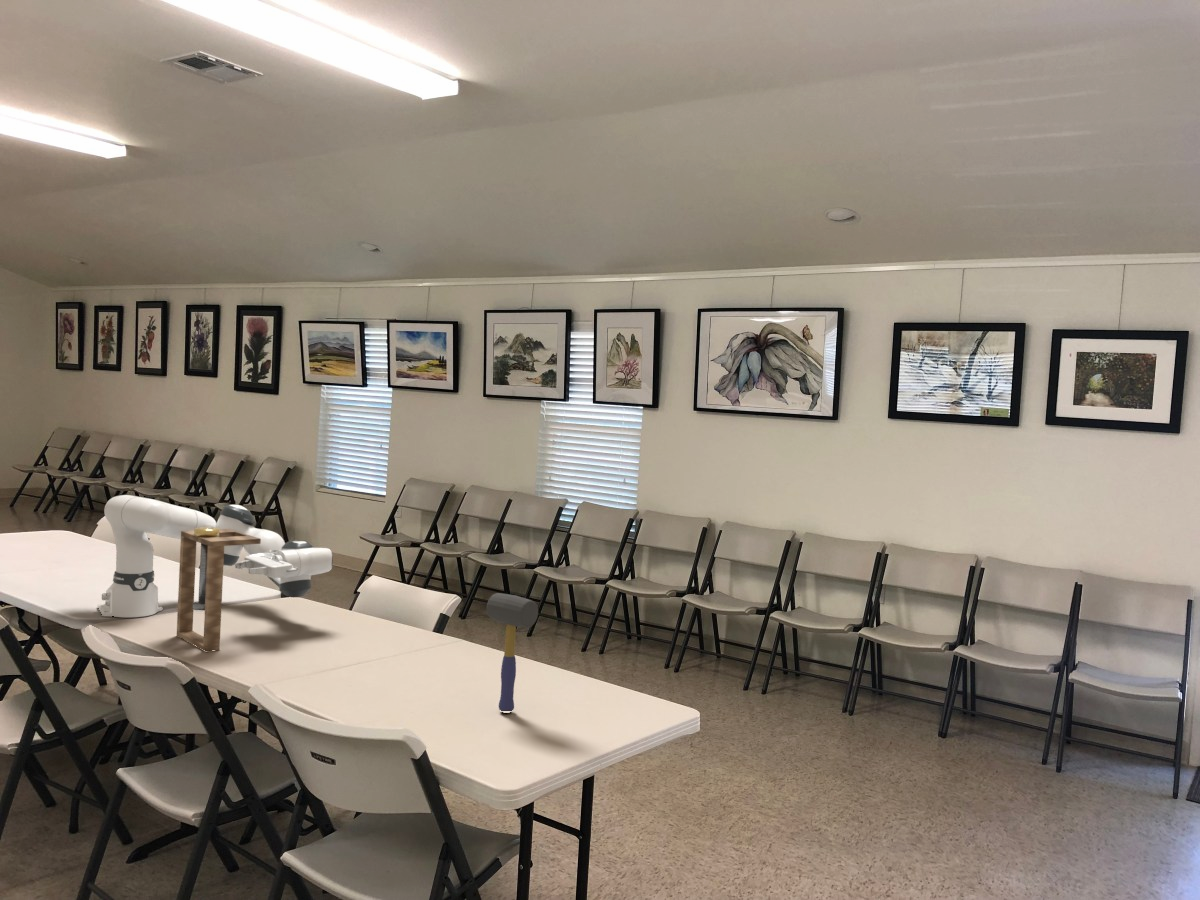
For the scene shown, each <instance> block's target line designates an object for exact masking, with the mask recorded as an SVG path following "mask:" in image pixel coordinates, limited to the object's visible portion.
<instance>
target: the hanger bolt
mask: <svg viewBox="0 0 1200 900" xmlns="http://www.w3.org/2000/svg"><path fill="white" fill-rule="evenodd" d="M219 532H220V529H219V528H212V527H200V528H195V529H194V536H196V537H218V536H219ZM207 552H208V546H207V545H205V544H202V543H200V559H199V580H198V581H199V582H198V584H199V585H198V601H197V600H196V601H194V603H193V610H195V611H205V597H206V574H207Z"/></svg>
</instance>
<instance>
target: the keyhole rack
mask: <svg viewBox="0 0 1200 900" xmlns="http://www.w3.org/2000/svg"><path fill="white" fill-rule="evenodd" d="M197 543H199V544H201V543H202V544H205V545H207V546H208V552H207V574H206V597H205V610H204V620H203V623H204V625H203V635H201V634H199V633H198V632H196V631H194V630H193V628H194V627H193V626H194V609H193V603H194V602H195V582H196V562H197V560H196V558H197ZM260 543H261V539H260V538H257V537H254V536H250V535H247V534H244V533H241V532H238V531H235V530H232V529H220V532H219V536H218V537H196V536H194V530H192V531H181V540H180V546H179V547H180V549H179V570H178V571H179V573H178V592H177V593H178V594H177V615H176V616H177V617H176V618H177V619H176V637H178V636H179V637H181V638H183V639H184V640H183V639H182V640H183V641H185V640H186V641H185V642H187V641H188V642H190V643H192V644H194V645H196V646H197V647H199V648H201V649H203V650H205V651H212V650H219V651H221V650H220V648H221V647H220V646H221V625H222V605H223V604H222V602H223V600H222V599H223V585H224V584H223V581H224V566H223V563H224V546H231V545H248V544H260ZM179 637H178V638H179ZM181 638H180V639H181ZM188 642H187V643H188ZM190 643H189V644H190ZM192 644H191V645H192ZM194 645H193V646H194ZM197 647H196V648H197ZM199 648H198V649H199ZM201 649H200V650H201ZM203 650H202V651H203ZM212 652H213V651H212Z"/></svg>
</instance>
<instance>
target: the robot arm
mask: <svg viewBox="0 0 1200 900" xmlns="http://www.w3.org/2000/svg"><path fill="white" fill-rule="evenodd" d="M103 509H104V510H103V511H104V513H103V514H104V516H105V519H106V520H107V521H108V523H109V525H110V527H111V529H112V530H111V531H112V534H113V539H114V542H115V549H116V551H115V552H116V554H115V556H116V558H115V559H116V560H115V571H114V574H113V578H112V584H111V585H110V586H109V587H108V588H107V589H106V591H105V593H102V594H101V601H105V602H103V603H98V604H97V607H98V608H99V609H98V608H97V609H98V611H99V610H100V611H99V613H100V612H101V613H100V615H101V614H102V615H101V617H112V616H114V617H116V618H142V617H148V616H152V615H155V614H156V613H158V612H161V611H163V607H162V606H159V588H158V586H157V585H156V584H154V581H155V571H154V551H155V549H154V545H153V544H152V543H151V542H150V540H149V537H148V534H152V535H157V536H161V537H167V538H170V539H176V540H180V541H181V531H192V530H194V529H195V528H200V527H212V528H219V529H232V530H235V531H238V532H241V533H244V534H247V535H250V536H254V537H257V538H260V539H261V543H260V544H248V545H231V546H224V563H223V567H232V566H234V568H235V569H238V570H240V569H241V570H242V569H248V574H250V575H251V576H252V575H263V576H265V577H267V578H268V579H269V580H270V581H271V582H272V583H273V584H275V585H276V586H277V587H278V588H279V589H278V590H279V591H280V592H281V593H282V594H283V595H284V596H286V597H287V598H289V597H290V598H302V597H304V596H305V595H306V594H308V593H309V591H310V590H311V589H312V579H311V577H312V576H315V575H321V574H324V573H328V572H330V571H331V570H332V568H333V564H334V556H333V551H332V550H331V549H330V548H328V547H314V546H313V545H312V544H311V543H310V542H308V540H302V539H300V540H291V541H287V542H285V540H284V538H283V537H282V536H281V535H280V534H279V533H278V532H275V531H272V530H269V529H264V528H256V527H254V526H255V525H254V524H256V523H257V521H256V520H254V516H253V514H252V512H251V511H250V510H248V509H247V508H246V507H244V506H242V505H240V504H227V505H225V506H223V508H222V510H221V511H220V513H219V516H218V519H217V521H216V520H215V518H214V517H212V516H210V515H209V514H207V513H204V512H201V511H198V510H196V509H192V508H188V507H183V506H179V505H175V504H171V503H168V502H165V501H161V500H158V499H153V498H148V497H141V496H137V495H131V494H122V495H116V496H113V497H111V498H110V499H109V500H108V501H107V502H106V504H105V506H104V508H103ZM243 549H244V551H245V552H246V554H248V555H246V556H245V557H244V558H243V559H244V560H241V561H238V560H239V559H240V555H241V552H242V550H243Z"/></svg>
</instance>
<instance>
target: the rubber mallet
mask: <svg viewBox="0 0 1200 900" xmlns="http://www.w3.org/2000/svg"><path fill="white" fill-rule="evenodd" d="M486 614H487V616H488V617H489V618H490V619H491V620H493V621H495V622H498V623H501V624H505V625H506V627H505V641H504V654H503V658H502V662H501V667H500V668H501V669H500V682H501V685H500V698H499V702H498V709H499V711H500V710H501V711H512V710H513V711H514V709H515V703H514V701H515V700H514V692H515V691H514V690H515V682H516V675H517V674H516V673H517V661H516V660H517V659H516V656H515V653H516V652H515V650H516V631H517V627H518V628H519V627H520V628H524V629H525V628H526V629H527V628H528V629H529V628H531V627H532V626H533V625H535V623H536V621H537V619H538V616H539V608H538V604H537V603H536V602H535V601H533V600H532V599H529V598H525V597H521V596H519V595H515V594H508V593H502V592H500V593H499V592H497V593H493V594H492V595H491V596H490V597H489V599H488V601H487V603H486ZM513 711H512V712H513Z"/></svg>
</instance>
